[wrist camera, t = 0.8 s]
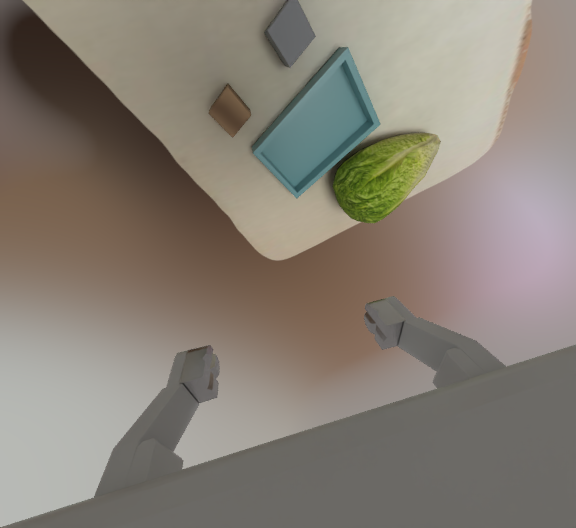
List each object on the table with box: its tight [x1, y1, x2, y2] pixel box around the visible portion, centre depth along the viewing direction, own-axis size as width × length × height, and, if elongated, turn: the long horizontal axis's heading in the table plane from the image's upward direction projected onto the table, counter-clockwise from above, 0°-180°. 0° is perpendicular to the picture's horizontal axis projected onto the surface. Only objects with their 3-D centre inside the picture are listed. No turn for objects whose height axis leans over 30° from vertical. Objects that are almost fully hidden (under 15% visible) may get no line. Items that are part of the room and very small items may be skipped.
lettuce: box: [333, 133, 441, 223], centre depth 48 cm, size 15×24×16 cm
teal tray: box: [252, 47, 380, 198], centre depth 42 cm, size 22×14×4 cm, turn 131°
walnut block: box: [209, 84, 251, 138], centre depth 37 cm, size 5×5×5 cm
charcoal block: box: [264, 0, 316, 67], centre depth 31 cm, size 5×5×5 cm
